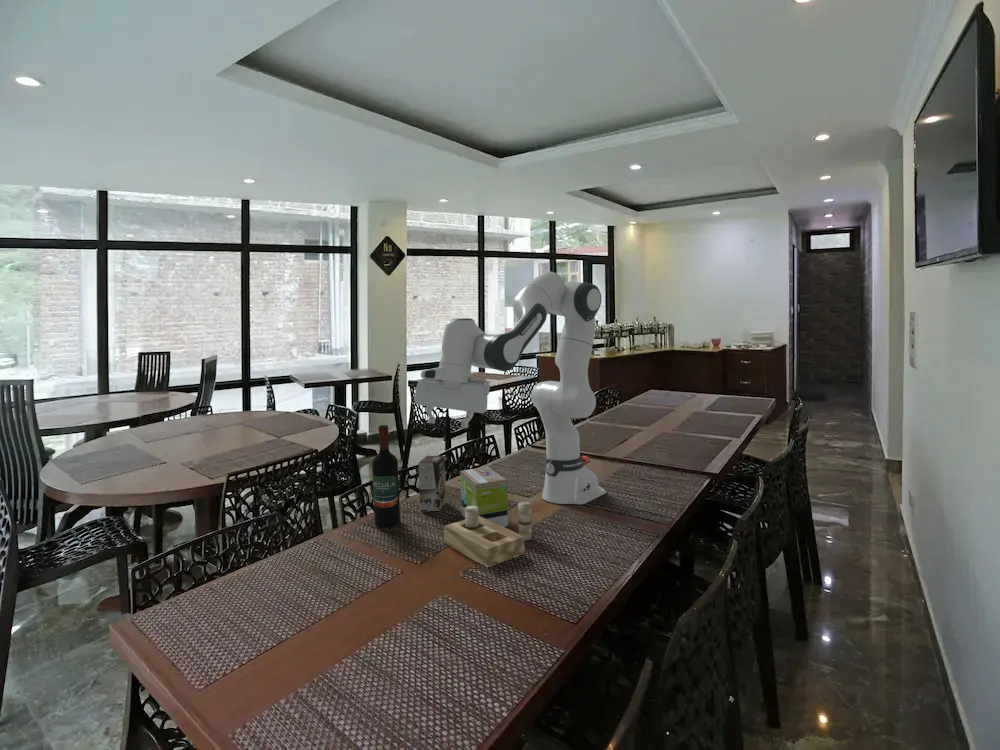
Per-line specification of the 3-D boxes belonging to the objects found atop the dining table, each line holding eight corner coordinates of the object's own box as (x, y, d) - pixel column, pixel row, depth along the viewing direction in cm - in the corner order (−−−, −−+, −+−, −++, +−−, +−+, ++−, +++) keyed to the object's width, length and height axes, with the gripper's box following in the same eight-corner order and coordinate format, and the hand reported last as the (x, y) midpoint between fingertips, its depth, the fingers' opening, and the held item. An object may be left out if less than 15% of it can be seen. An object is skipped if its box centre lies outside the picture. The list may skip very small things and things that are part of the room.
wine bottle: (404, 519, 179) (400, 423, 175) (392, 529, 172) (388, 429, 168) (383, 517, 181) (378, 422, 178) (370, 526, 174) (365, 427, 171)
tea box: (460, 515, 182) (459, 469, 180) (490, 510, 185) (489, 465, 184) (477, 532, 168) (475, 482, 166) (509, 527, 172) (508, 478, 170)
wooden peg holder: (479, 532, 168) (478, 498, 167) (524, 554, 152) (523, 518, 151) (444, 543, 161) (443, 508, 160) (487, 568, 145) (486, 529, 144)
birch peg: (525, 535, 165) (525, 501, 164) (534, 538, 163) (533, 504, 161) (516, 538, 163) (515, 503, 162) (524, 542, 160) (523, 507, 159)
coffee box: (438, 512, 185) (437, 462, 183) (419, 511, 186) (417, 462, 184) (447, 502, 194) (445, 455, 192) (428, 501, 195) (426, 454, 193)
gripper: (493, 380, 162) (486, 430, 161) (423, 371, 166) (416, 420, 165) (488, 379, 155) (481, 431, 155) (415, 370, 159) (409, 421, 159)
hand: (447, 425), depth 160 cm, fingers open, 8 cm apart
